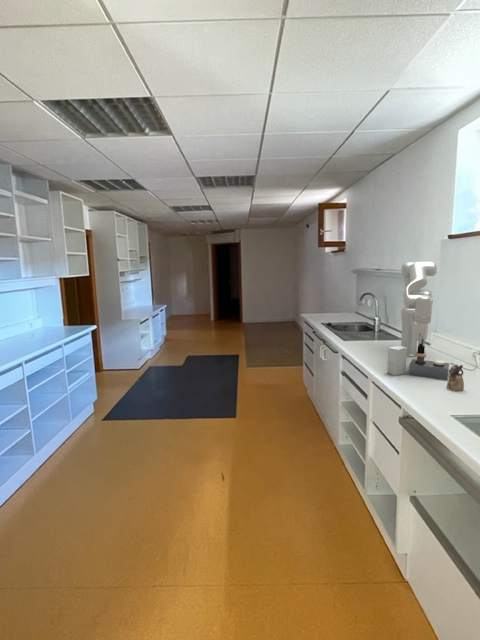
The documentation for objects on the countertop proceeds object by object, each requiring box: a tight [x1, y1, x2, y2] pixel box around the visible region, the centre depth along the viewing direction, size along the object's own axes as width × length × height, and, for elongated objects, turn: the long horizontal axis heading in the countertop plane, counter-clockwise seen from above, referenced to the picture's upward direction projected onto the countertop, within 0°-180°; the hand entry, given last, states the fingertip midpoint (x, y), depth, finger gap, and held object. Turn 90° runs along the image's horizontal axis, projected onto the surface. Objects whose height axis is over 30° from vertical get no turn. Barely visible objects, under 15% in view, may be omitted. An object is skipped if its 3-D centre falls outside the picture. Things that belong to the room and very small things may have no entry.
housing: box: [408, 358, 450, 381], centre depth 194 cm, size 12×18×6 cm, turn 57°
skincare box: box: [387, 345, 408, 377], centre depth 197 cm, size 8×6×15 cm
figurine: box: [446, 363, 465, 392], centre depth 172 cm, size 7×7×12 cm
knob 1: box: [415, 352, 427, 364], centre depth 196 cm, size 5×5×8 cm
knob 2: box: [433, 359, 446, 367], centre depth 192 cm, size 5×5×8 cm
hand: (420, 353), depth 195 cm, fingers closed
